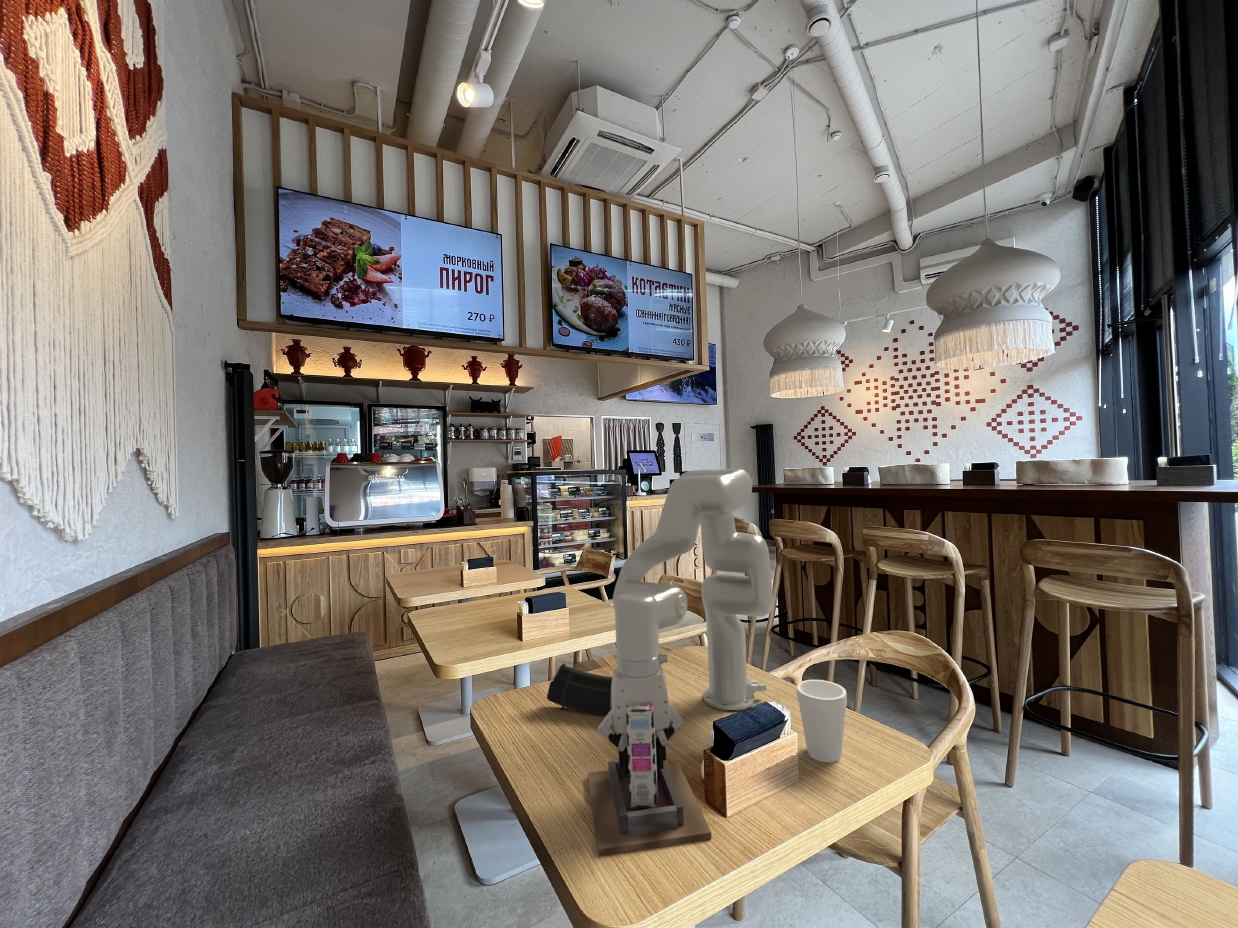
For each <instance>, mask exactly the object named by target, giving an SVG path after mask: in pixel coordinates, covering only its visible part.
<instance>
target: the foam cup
mask: <svg viewBox="0 0 1238 928" xmlns="http://www.w3.org/2000/svg"><path fill="white" fill-rule="evenodd" d="M846 690H847V689H846V688H844V687H843V686H842V685H840V684H838V683H834V682H832V681H829V680H824V679H807V680H802V681H800V682H799V683H798V684H796V696H797V702H798V705H799V711H800V717H801V722H802V726H803V727H802V728H803V733H804V738H805V746H806V749H807V754H808V756H810V757H811V758H812V759H814V760H816V761H818V762H822V763H835V762H839V761H840V760H841V758H842V752H843V750H842V749H843V742H844V741H843V740H844V729H845V722H846V721H845V719H846V718H845V717H846V710H847V709H846V708H847V707H848V700H847V699H848V698H847V691H846Z"/></svg>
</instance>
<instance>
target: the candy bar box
mask: <svg viewBox="0 0 1238 928" xmlns="http://www.w3.org/2000/svg"><path fill="white" fill-rule="evenodd" d="M626 721H627V742H626V746H627V750H628V767H629V792H630V808H657V807H658V803H657V766H656V741H655V739H656V731H655V721H654V708H653V704H642V705H633V706H627V707H626Z"/></svg>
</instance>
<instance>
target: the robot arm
mask: <svg viewBox="0 0 1238 928" xmlns="http://www.w3.org/2000/svg"><path fill="white" fill-rule="evenodd" d="M752 492H753V483H752V479H751V477H750V475H749V473H748V472H747V471H746V470H745V469H742V468H724V469H723V468H722V469H712V468H711V469H694V470H689V471H685V472H684V473H681V475H680V476H679V477H678V478H675V479H674V480H673V481H672V483H671V484H670V486H669V488H668V491H667V494H666V497H665V501H664V504H663V506H662V510H661V514H660V516H659V519H658V522H657V526H656V529H655V531H654V533H653V534H652V535H650V536H649V537H648V538H646V539H645V540H643V541H642V543H640V544H639V545H638V546H637V547H636V548H635V549H634V550H633V551H632V552H631V553H630V554H629V555H628V557H627V558H626V559H625V561H624V562H623V564H622V566H621V569H620V572H619V574H618V578H617V581H616V583H615V587H614V591H613V595H612V605H613V607H612V608H613V610H614V617H615V618H614V622H615V624H614V625H615V643H616V646H615V647H616V665H617V666H616V669H614V670H613V671H612V675H611V677H612V683H611V710H610V712H609V713H608V714H607V716H606V717H603V719H602V721H601V722H600V724H599V725H598V728H597V729H598V733H599V734H601V736H603V737H604V738H606V739H608V741H609V742H610V743H611V744H612V745H614V746H615V747H616V748H617V749H618V750H617V751H618V759H619V766H620V767H622V766H623V769H624V773H625V774H628V773H629V767H628V745H627V721H626V707H627V706H633V705H642V704H653V708H654V721H655V734H656V735H657V736H656V737H655V741H656V761H657V764H658V766H659V769H664V765H663V761H664V762H665V761H667V752H666V751H667V748H666V745H668V743H669V742H668V741H669V740H670V739H671V738H672V736H673V735H674V734H675V731H676V730H677V729H679V727H681V725H682V724H683V722H684V719H683V718H682V716H681V715H680V714H679V713H678V711H676V709H674V708H673V707H672V706H671V705H670V701H669V694H668V687H667V681H666V676H665V672H664V669H663V667H662V665H663V664H664V663H668V655H667V654H662V653H660V643H659V630H662V629H665V628H669V627H672V626H675V625H677V624H679V623H680V622H681V621H682V620H683V619H684V617H685V616H686V614H687V611H688V610H687V609H688V603H689V602H688V597H687V595H686V593H685V591H684V590H683V589H682V588H680V587H679V586H677V585H673V584H667V583H658V582H650V581H643V579H644V577H645V576H646V575H647V574H648V573H649V571H651V570H653V568H654V567H656V566H658V565H660V564H662V563H665V562H666V561H670V560H672V559H674V558H677V557H680V556H682V555H684V554H687V553H689V552H690V551H691V550H693V548H694V547H695V544H696V542H697V537H698V533H699V529H700V531H701V533H700V534H701V542H702V553H703V558H704V563H705V565H706V567H707V568H708V569H711V570H712V571H718V572H727V573H715V574H711V575H710V574H709V575H708V576H706V577H705V578H704V580H703V581H702V584H701V589H700V590H701V599H702V603H703V609H704V615H705V621H706V639H707V641H706V642H707V644H706V645H707V666H708V667H707V668H708V687H709V688H706V689H705V690H704V692H703V700H704V702H705V704H707V705H708V706H710V707H711V708H714V709H717V710H720V711H727V710H734V709H735V710H736V709H737V711H743V710H746V709H748V707H749V708H750V707H752V706H753V705H754V703H755V695H754V694H755V692H766V691H767V684H766V683H765V682H759V683H758V682H757V680H755V679H754V680H748V672H747V671H748V670H747V669H748V668H747V647H746V630H745V628H744V625H743V623H742V620H741V619H740V618H739V616H749V617H766V616H767V615H769V614H770V613H771V610H772V608H773V604H774V603H773V602H774V598H773V597H774V594H773V583H772V572H771V562H770V552H769V547H768V544H767V541H766V540H765V539H764V538H763V537H762V536H761V535H759V534H755V533H739V532H738V531H737V530H736V521H735V514H734V512H735V511H738V509H741V508H742V507H744V506H745V505H746V504H747V503H748V502H749V500H750V499H751V495H752ZM731 572H732V573H740V574H746V575H739V574H728V573H731ZM738 615H739V616H738ZM612 725H613V729H614V730H612V729H610V727H611V726H612Z"/></svg>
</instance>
